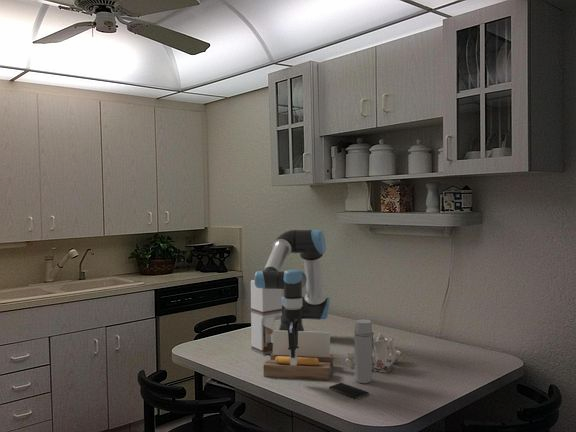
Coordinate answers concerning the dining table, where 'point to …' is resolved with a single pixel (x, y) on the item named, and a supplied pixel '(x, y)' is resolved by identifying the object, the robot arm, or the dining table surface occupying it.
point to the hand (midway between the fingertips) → (293, 364)
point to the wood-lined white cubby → (264, 317)
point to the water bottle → (363, 351)
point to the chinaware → (380, 355)
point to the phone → (348, 391)
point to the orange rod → (299, 360)
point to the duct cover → (303, 343)
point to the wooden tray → (299, 368)
